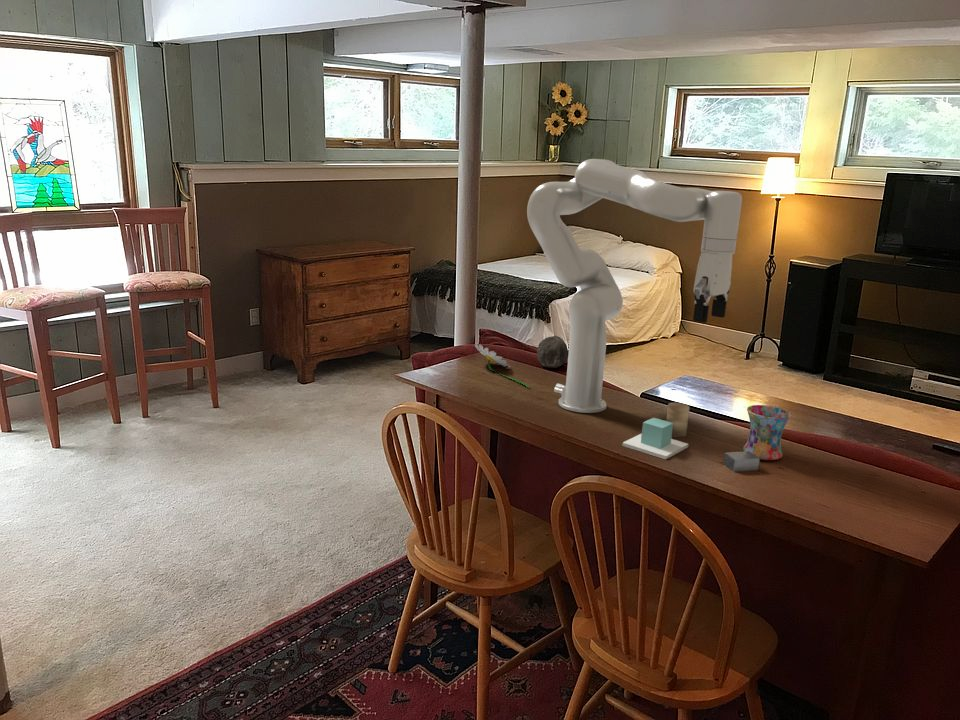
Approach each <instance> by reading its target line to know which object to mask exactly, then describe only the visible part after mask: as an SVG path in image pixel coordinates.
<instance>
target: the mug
mask: <svg viewBox="0 0 960 720" xmlns="http://www.w3.org/2000/svg"><path fill="white" fill-rule="evenodd" d="M746 410H747V415H748V418H749V426H750V427H749V435H748V439H747V440H746V443H745V444H744V445H743V448H742V450H743V452H746V451H749V452H751V453H752V454H754V455H755V456H757V457H758V458H760V459H759V460H762V461H763V460H764V461H775V460H780V459H781V458H782V457H783V452H782V448H781V447H782V445H781V442H782V441H781V440H782V434H783V432H784V430H785V426H786V425H787V423H788V422H789V420H790V418H791V417H792V414H791V412H789V411H787V410H786V409H784V408H780V407H776V406H772V405H765V404H754V405H749V406H748V407H747V408H746Z"/></svg>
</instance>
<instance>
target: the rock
mask: <svg viewBox="0 0 960 720" xmlns="http://www.w3.org/2000/svg"><path fill="white" fill-rule="evenodd" d="M536 354H537V359H538V361H539V363H540V364H541V366H543V367H544V368H548V369H549V368H550V369H557V368H559V367H562V366H563V364H565V363H566V362H568V354H569V348H568V346H567V343H566V342H565V340H564V339H563V338H561V337H560V336H557V335H553V336H547V337H545V338H544V339H542V340H540V342H539V344H538V347H537V349H536Z"/></svg>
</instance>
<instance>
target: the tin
mask: <svg viewBox="0 0 960 720" xmlns="http://www.w3.org/2000/svg"><path fill="white" fill-rule="evenodd" d="M723 455H724V456H723V462H722V463H723V464H722V465H723V466H724V467H726V468H727V469H729V470H730V471H732V472H737V473H738V472H753V471H758V470H759V465H760V460H761V459H760V458H758V457H757V456H755V455H754V454H752V453H751V452H749V451H746V452H744V451H731V452H724V454H723Z"/></svg>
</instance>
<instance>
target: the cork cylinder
mask: <svg viewBox="0 0 960 720" xmlns="http://www.w3.org/2000/svg"><path fill="white" fill-rule="evenodd" d="M666 412H667V413H666V419H665V421H667V422H671V423H673V429H672V437H674V436H676V438H681V437H682V436H683V437H685V436H687V429H688V424H689V423H688V421H689V413H690V406H689V405H688V404H685V403H683V402H682V403H681V402H669V403H668V405H667V411H666ZM683 437H682V438H683Z"/></svg>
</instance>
